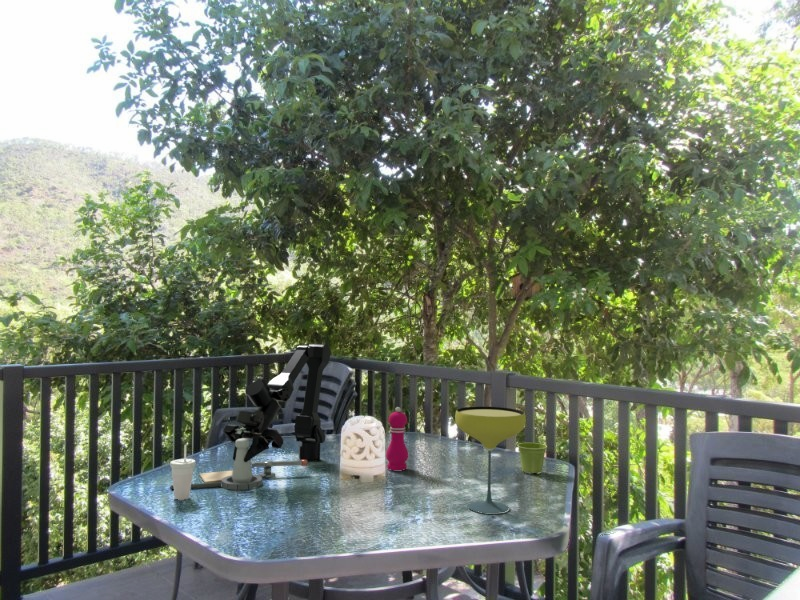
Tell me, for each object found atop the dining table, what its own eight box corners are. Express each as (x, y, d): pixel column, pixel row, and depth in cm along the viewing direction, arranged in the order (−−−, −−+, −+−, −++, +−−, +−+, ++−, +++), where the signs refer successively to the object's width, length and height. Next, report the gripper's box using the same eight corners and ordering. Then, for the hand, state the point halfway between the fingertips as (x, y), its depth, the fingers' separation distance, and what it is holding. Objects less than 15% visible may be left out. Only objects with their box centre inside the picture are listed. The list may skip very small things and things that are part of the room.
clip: (306, 463, 194) (306, 458, 194) (307, 466, 191) (307, 461, 191) (251, 465, 191) (251, 460, 191) (251, 468, 187) (251, 463, 187)
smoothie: (189, 501, 162) (191, 447, 163) (165, 501, 162) (166, 447, 163) (198, 494, 169) (199, 442, 169) (174, 494, 169) (176, 442, 169)
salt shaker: (246, 487, 176) (247, 441, 177) (227, 486, 178) (229, 440, 178) (255, 482, 182) (256, 437, 183) (237, 481, 183) (238, 436, 184)
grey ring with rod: (259, 478, 187) (260, 473, 187) (263, 488, 176) (263, 482, 176) (171, 483, 179) (171, 478, 179) (169, 494, 169) (169, 488, 169)
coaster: (232, 472, 193) (232, 470, 193) (240, 480, 185) (240, 478, 185) (199, 475, 189) (199, 473, 189) (205, 483, 180) (205, 481, 180)
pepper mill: (409, 467, 205) (410, 405, 205) (407, 472, 197) (408, 408, 198) (387, 466, 205) (388, 405, 206) (384, 471, 198) (385, 408, 199)
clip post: (274, 473, 193) (274, 464, 193) (276, 477, 188) (276, 468, 188) (258, 474, 192) (258, 465, 192) (259, 478, 187) (260, 469, 187)
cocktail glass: (539, 513, 158) (540, 414, 159) (482, 523, 149) (483, 418, 150) (494, 494, 174) (495, 404, 175) (440, 503, 165) (442, 408, 166)
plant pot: (539, 477, 194) (539, 449, 194) (511, 472, 199) (512, 445, 200) (551, 472, 201) (552, 445, 201) (524, 467, 207) (525, 441, 207)
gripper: (227, 397, 188) (200, 440, 178) (278, 402, 180) (252, 447, 170) (244, 420, 195) (219, 462, 185) (293, 425, 187) (270, 470, 177)
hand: (239, 460), depth 179 cm, fingers closed on salt shaker, 4 cm apart
